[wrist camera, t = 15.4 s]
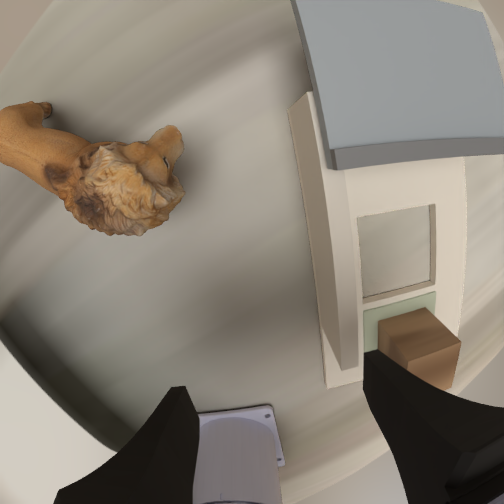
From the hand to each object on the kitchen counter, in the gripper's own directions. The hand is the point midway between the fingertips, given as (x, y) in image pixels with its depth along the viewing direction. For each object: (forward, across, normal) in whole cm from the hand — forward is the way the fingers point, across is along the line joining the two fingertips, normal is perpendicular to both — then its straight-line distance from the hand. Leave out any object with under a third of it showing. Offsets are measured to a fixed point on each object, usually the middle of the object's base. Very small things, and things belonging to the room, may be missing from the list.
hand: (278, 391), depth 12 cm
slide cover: (+3, -9, -12) cm, 15 cm away
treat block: (+8, -10, +6) cm, 14 cm away
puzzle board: (+9, -10, -1) cm, 13 cm away
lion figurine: (+10, +8, -11) cm, 17 cm away
